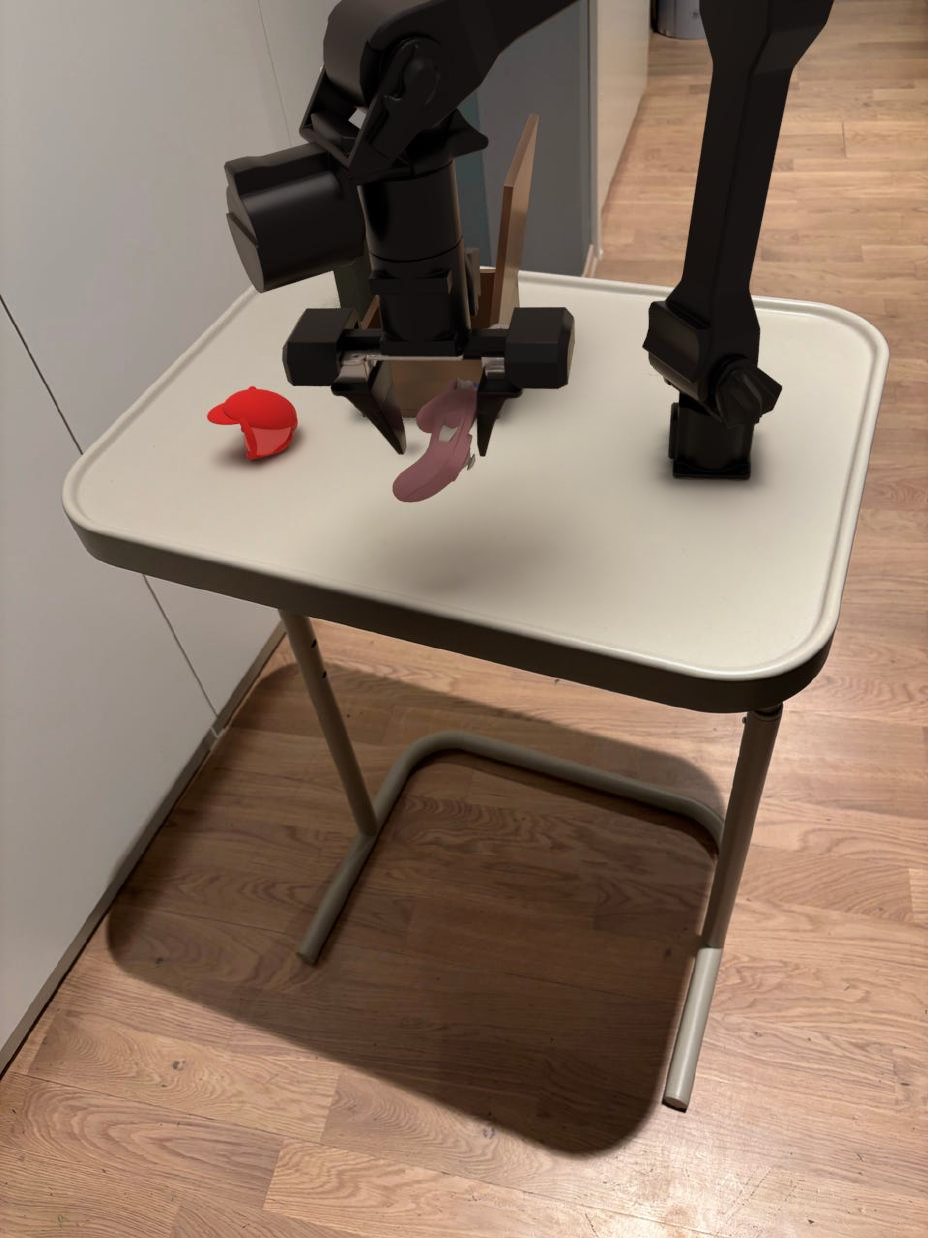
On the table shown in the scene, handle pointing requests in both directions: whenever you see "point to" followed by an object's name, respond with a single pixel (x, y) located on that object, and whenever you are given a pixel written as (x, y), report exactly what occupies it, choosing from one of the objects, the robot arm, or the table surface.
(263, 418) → the cap
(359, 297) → the candle
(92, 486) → the table surface
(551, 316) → the robot arm
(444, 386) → the chest
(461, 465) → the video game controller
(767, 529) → the table surface
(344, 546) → the table surface
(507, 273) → the lid
